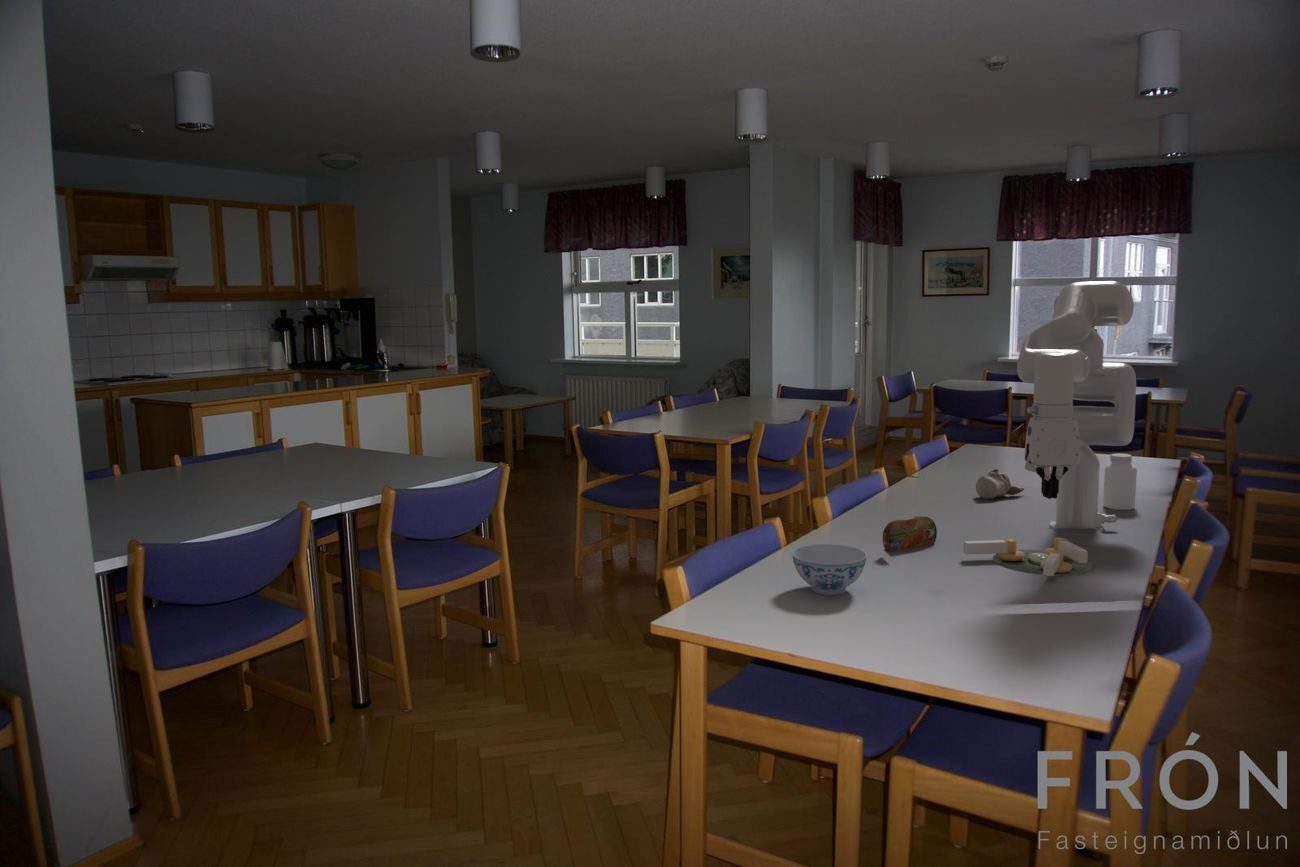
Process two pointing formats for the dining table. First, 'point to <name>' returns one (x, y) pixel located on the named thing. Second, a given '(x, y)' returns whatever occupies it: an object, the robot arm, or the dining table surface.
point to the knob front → (1055, 564)
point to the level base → (1034, 563)
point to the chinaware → (829, 566)
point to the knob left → (995, 549)
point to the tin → (909, 533)
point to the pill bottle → (1120, 483)
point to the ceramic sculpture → (995, 485)
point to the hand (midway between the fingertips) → (1049, 497)
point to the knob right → (1069, 550)
